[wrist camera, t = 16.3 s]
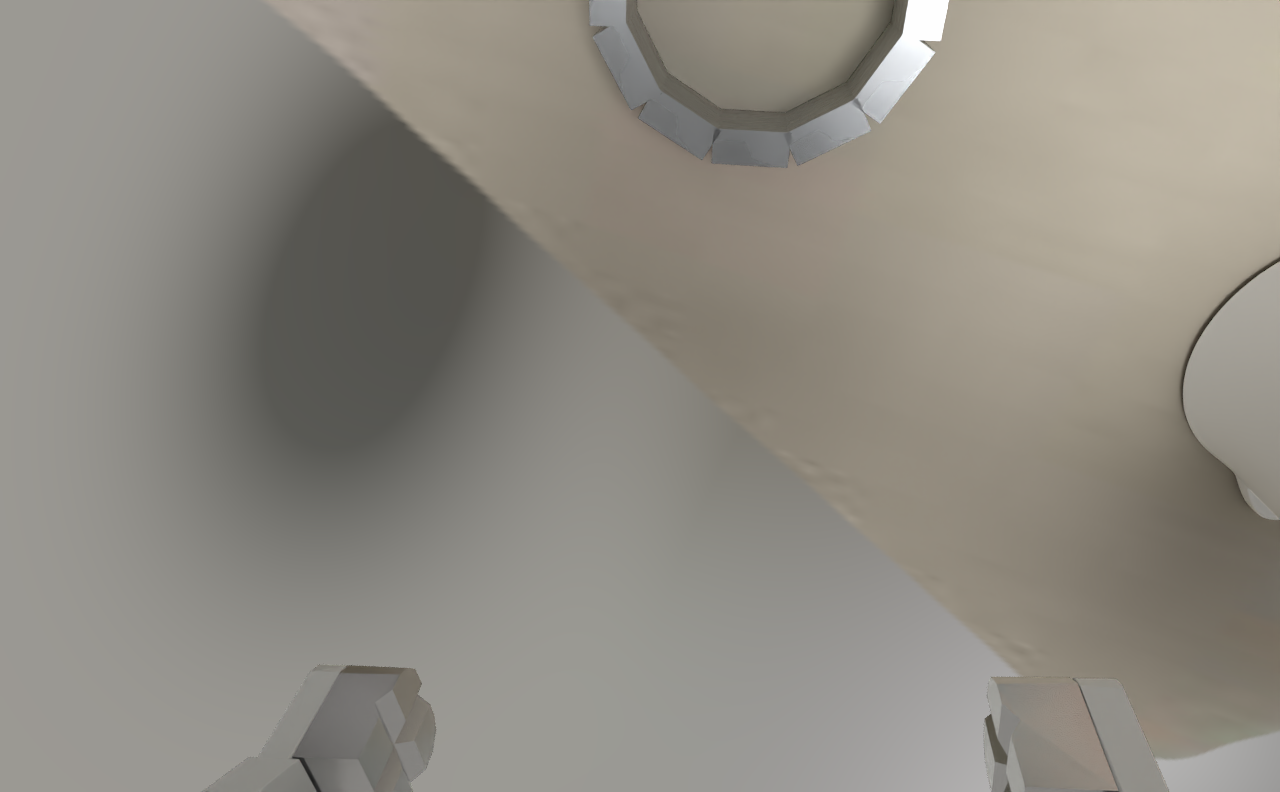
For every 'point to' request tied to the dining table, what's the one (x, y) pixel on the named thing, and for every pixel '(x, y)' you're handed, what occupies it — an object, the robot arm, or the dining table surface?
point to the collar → (757, 131)
